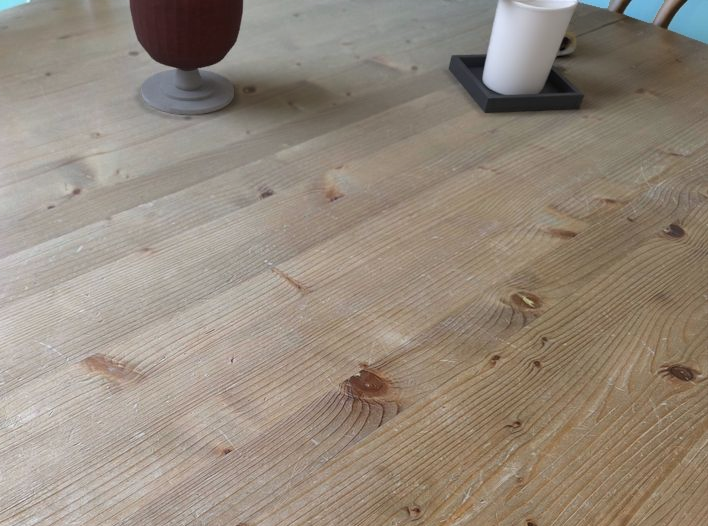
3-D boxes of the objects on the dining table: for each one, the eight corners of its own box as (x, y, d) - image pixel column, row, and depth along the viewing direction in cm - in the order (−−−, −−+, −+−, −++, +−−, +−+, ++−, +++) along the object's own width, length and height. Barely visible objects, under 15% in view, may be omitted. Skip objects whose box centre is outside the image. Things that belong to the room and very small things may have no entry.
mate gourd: (120, 80, 102) (107, -85, 88) (212, 64, 106) (214, -95, 92) (164, 131, 92) (158, -45, 78) (264, 111, 97) (274, -59, 83)
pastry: (507, 35, 118) (515, 10, 116) (544, 33, 120) (552, 8, 117) (539, 60, 112) (548, 34, 109) (578, 57, 114) (587, 31, 111)
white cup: (470, 91, 102) (495, -1, 94) (481, 64, 109) (505, -24, 101) (544, 106, 100) (575, 13, 92) (551, 77, 107) (581, -12, 98)
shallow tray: (535, 66, 110) (539, 52, 109) (579, 108, 101) (584, 94, 100) (448, 68, 109) (451, 55, 107) (484, 112, 99) (488, 98, 98)
